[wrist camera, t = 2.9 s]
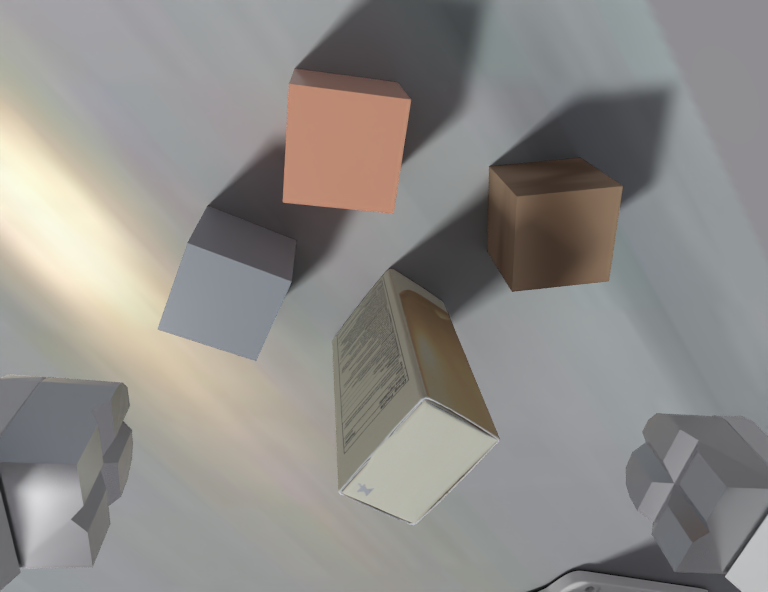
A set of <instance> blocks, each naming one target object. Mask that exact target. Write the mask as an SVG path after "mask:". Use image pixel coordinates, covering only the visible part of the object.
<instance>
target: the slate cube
mask: <svg viewBox="0 0 768 592" xmlns="http://www.w3.org/2000/svg"><path fill="white" fill-rule="evenodd" d="M295 250H296V240H294V239H291V238H289V237H286V236H284V235H281V234H278V233H276V232H273V231H271V230H268V229H266V228H263V227H261V226H258V225H256V224H253V223H251V222H248V221H245V220H243V219H240V218H238V217H235V216H233V215H230V214H228V213H225V212H223V211H220V210H218V209H215V208H212V207H210V206H207V208H206V210H205V212H204V213H203V215H202V217H201V219H200V221H199V223H198V224H197V226H196V228H195V230H194V232H193V234H192V236H191V237H190V239H189V241H188V243H187V246H186V249H185V252H184V254H183V257H182V260H181V263H180V266H179V269H178V272H177V275H176V277H175V280H174V283H173V286H172V289H171V292H170V295H169V298H168V301H167V303H166V306H165V309H164V312H163V315H162V318H161V321H160V324H159V327H158V330H161V331H164V332H167V333H170V334H174V335H177V336H180V337H183V338H186V339H189V340H192V341H195V342H198V343H202V344H205V345H208V346H211V347H214V348H217V349H220V350H223V351H226V352H230V353H233V354H236V355H239V356H242V357H245V358H248V359H251V360H254V361H256V360H257V358H258V355H259V353H260V351H261V349H262V347H263V344H264V342H265V340H266V338H267V335H268V333H269V331H270V329H271V327H272V324H273V322H274V320H275V318H276V316H277V313H278V311H279V309H280V307H281V304H282V302H283V300H284V298H285V296H286V293H287V291H288V289H289V287H290V285H291V282H292V276H293V267H294V259H295Z"/></svg>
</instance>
